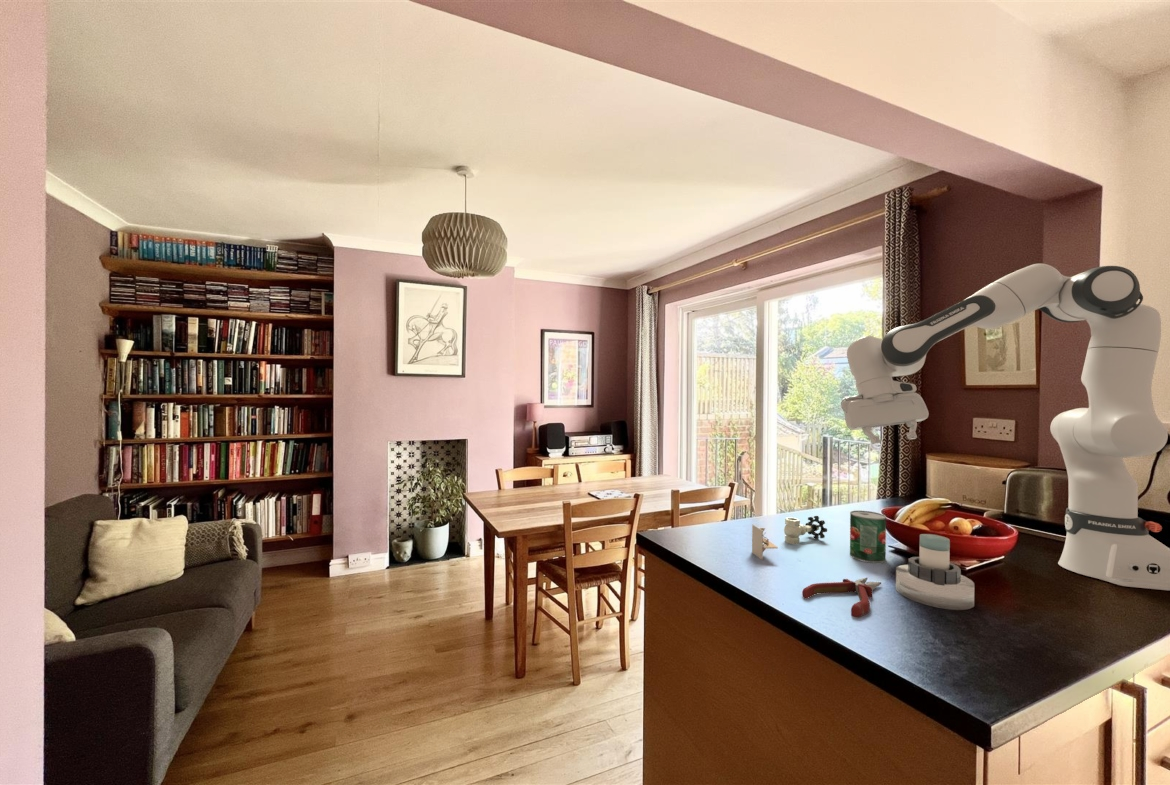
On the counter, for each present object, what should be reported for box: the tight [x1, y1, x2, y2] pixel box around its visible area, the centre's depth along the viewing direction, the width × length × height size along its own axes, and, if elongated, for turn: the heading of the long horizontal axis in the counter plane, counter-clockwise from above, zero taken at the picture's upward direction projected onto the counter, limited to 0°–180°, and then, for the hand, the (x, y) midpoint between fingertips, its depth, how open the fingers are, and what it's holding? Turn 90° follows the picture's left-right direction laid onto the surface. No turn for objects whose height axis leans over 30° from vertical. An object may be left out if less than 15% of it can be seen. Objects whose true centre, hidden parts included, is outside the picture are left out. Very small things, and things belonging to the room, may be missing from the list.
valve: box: [783, 515, 828, 545], centre depth 132 cm, size 7×7×12 cm
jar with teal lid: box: [918, 533, 951, 570], centre depth 97 cm, size 5×5×8 cm
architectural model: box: [751, 524, 779, 561], centre depth 119 cm, size 3×7×7 cm, turn 5°
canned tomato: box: [849, 510, 887, 564], centre depth 119 cm, size 8×8×11 cm
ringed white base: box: [895, 556, 975, 611], centre depth 98 cm, size 13×16×7 cm
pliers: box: [801, 577, 882, 618], centre depth 96 cm, size 12×20×3 cm, turn 126°
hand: (894, 441), depth 124 cm, fingers open, 8 cm apart
